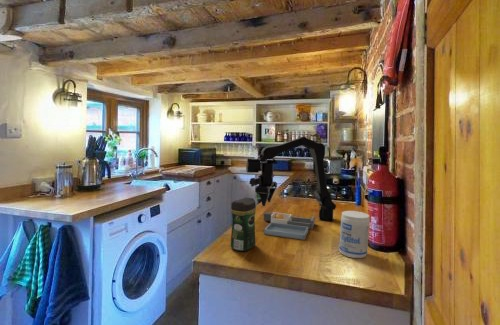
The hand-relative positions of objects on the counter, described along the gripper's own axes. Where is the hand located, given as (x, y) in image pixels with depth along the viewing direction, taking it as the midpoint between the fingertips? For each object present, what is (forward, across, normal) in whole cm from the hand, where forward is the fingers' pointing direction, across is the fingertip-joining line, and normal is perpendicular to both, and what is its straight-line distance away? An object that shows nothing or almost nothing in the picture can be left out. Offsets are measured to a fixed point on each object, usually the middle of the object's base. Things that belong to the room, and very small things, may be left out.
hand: (266, 203), depth 134 cm
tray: (+9, +13, +13) cm, 20 cm away
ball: (+6, 0, +7) cm, 9 cm away
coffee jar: (+9, +35, +1) cm, 36 cm away
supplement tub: (+9, +25, +40) cm, 48 cm away
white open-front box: (+9, 0, +6) cm, 10 cm away
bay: (+8, 0, +17) cm, 19 cm away
